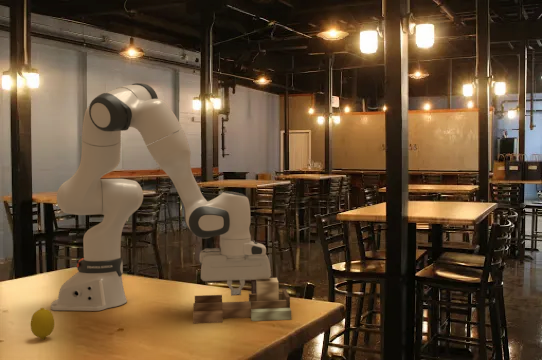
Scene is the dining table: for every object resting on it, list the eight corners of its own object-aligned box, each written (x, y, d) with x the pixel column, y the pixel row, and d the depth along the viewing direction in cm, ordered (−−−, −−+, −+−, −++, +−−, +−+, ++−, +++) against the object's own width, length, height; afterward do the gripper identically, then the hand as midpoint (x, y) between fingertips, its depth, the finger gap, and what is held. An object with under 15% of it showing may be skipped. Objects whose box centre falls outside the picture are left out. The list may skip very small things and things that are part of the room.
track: (193, 323, 156) (192, 303, 155) (195, 308, 171) (195, 290, 171) (291, 319, 158) (291, 299, 158) (284, 304, 174) (284, 286, 174)
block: (257, 307, 162) (257, 282, 162) (256, 301, 168) (256, 278, 168) (278, 306, 162) (278, 282, 162) (276, 301, 168) (276, 277, 168)
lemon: (35, 336, 146) (34, 305, 145) (57, 335, 146) (56, 304, 146) (27, 343, 140) (27, 311, 140) (51, 342, 141) (50, 310, 140)
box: (271, 292, 191) (271, 270, 191) (269, 296, 185) (269, 274, 185) (253, 292, 192) (253, 270, 191) (251, 296, 186) (250, 274, 185)
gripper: (199, 250, 160) (199, 299, 161) (271, 248, 163) (271, 296, 163) (199, 246, 167) (200, 293, 167) (269, 245, 169) (269, 291, 169)
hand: (236, 295), depth 165 cm, fingers closed
